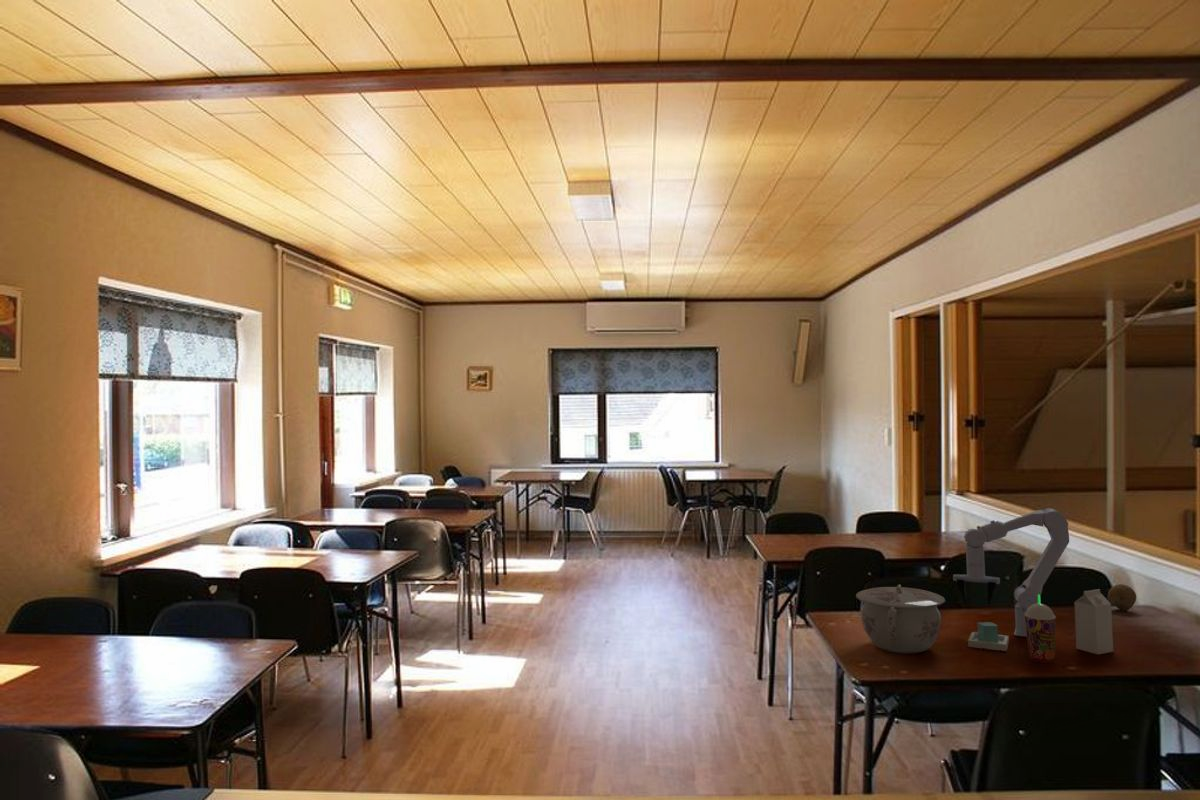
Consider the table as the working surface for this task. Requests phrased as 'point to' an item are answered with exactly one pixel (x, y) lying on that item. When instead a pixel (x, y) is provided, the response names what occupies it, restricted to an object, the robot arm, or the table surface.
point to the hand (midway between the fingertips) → (977, 602)
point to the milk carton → (1093, 623)
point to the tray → (1001, 644)
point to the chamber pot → (901, 618)
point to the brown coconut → (1122, 597)
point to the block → (987, 632)
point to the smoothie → (1040, 632)
